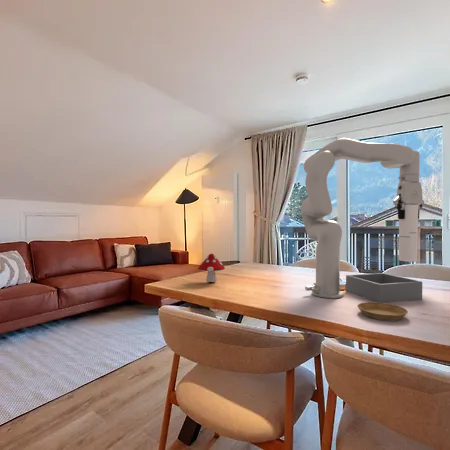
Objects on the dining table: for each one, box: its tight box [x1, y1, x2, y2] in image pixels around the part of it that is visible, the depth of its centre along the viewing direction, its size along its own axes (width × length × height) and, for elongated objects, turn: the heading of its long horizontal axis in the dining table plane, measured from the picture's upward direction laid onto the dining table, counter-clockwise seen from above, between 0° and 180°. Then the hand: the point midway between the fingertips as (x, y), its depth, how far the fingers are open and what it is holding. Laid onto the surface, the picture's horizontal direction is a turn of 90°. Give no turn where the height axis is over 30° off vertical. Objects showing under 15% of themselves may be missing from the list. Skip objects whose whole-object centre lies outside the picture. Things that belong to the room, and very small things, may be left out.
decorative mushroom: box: [197, 253, 226, 283], centre depth 148 cm, size 14×14×15 cm
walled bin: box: [345, 272, 423, 303], centre depth 123 cm, size 20×20×7 cm
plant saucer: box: [356, 301, 409, 322], centre depth 97 cm, size 15×15×3 cm
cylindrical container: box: [398, 205, 419, 263], centre depth 131 cm, size 7×7×25 cm
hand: (408, 218), depth 131 cm, fingers closed on cylindrical container, 7 cm apart
